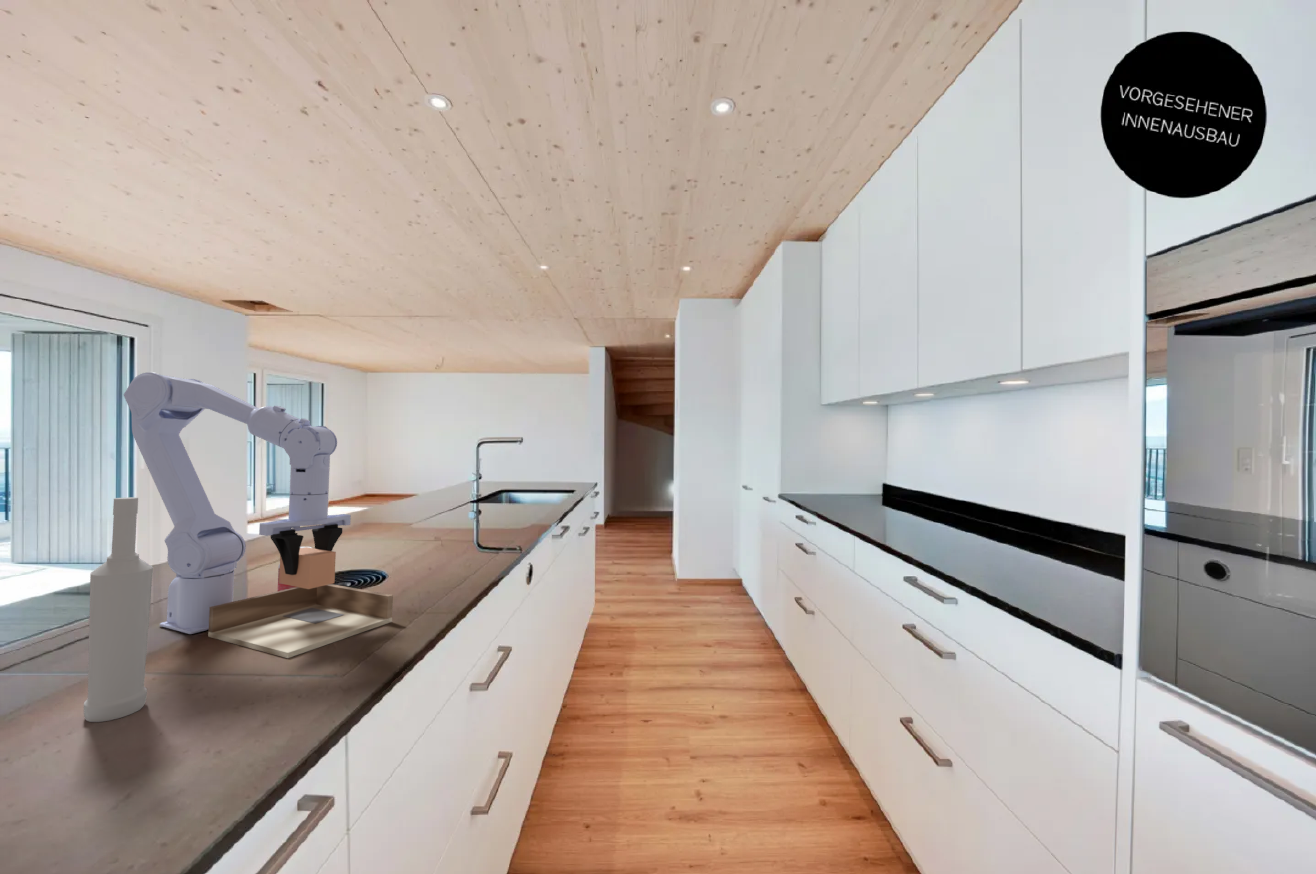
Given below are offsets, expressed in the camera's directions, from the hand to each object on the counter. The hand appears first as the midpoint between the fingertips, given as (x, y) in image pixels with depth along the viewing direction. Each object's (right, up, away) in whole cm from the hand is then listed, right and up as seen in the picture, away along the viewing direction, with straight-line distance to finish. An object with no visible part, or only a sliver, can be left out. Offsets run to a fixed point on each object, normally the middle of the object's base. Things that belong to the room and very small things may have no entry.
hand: (306, 571), depth 90 cm
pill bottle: (-10, -10, +11) cm, 17 cm away
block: (0, -2, 0) cm, 2 cm away
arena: (+1, -9, -2) cm, 10 cm away
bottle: (-2, -9, -30) cm, 32 cm away
